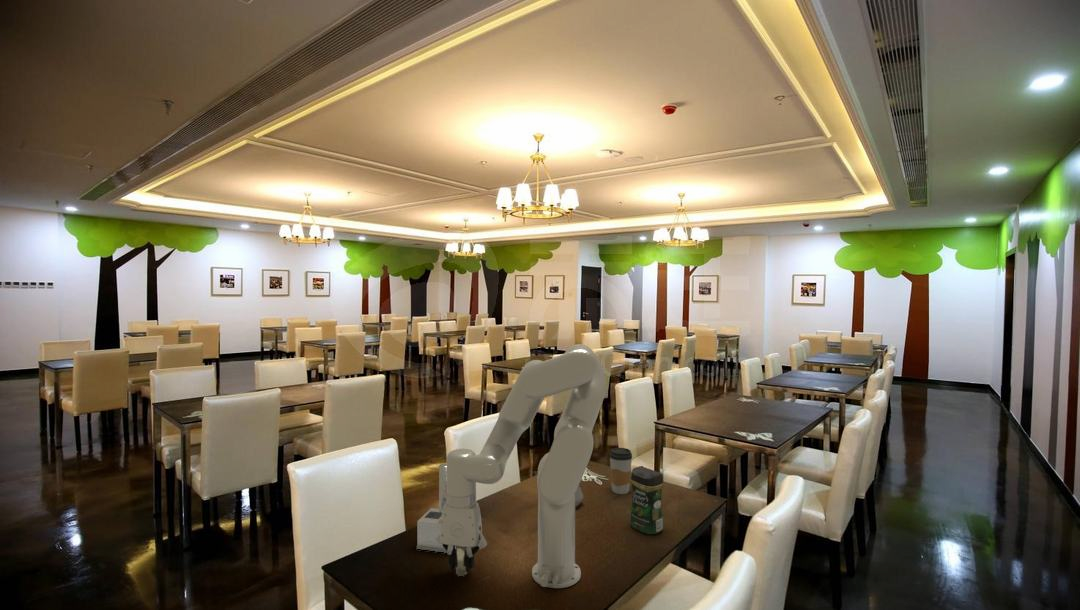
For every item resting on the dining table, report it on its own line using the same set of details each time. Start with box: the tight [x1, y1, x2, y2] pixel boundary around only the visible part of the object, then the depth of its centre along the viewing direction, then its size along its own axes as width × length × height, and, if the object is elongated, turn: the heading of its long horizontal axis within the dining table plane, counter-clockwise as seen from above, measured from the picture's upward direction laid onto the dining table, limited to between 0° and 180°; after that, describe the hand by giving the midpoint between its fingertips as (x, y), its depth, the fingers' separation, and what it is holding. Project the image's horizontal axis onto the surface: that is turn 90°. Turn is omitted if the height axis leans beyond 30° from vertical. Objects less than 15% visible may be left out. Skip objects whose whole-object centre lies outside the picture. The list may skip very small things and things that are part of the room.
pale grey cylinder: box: [455, 546, 468, 577], centre depth 132 cm, size 3×3×8 cm
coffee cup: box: [608, 447, 633, 495], centre depth 187 cm, size 8×8×15 cm
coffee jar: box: [630, 465, 664, 535], centre depth 157 cm, size 10×8×19 cm
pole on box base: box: [416, 463, 456, 554], centre depth 150 cm, size 15×12×20 cm
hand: (461, 568), depth 132 cm, fingers open, 3 cm apart
